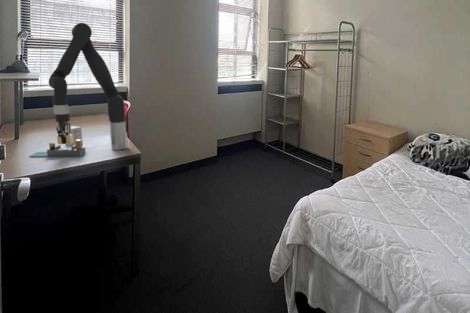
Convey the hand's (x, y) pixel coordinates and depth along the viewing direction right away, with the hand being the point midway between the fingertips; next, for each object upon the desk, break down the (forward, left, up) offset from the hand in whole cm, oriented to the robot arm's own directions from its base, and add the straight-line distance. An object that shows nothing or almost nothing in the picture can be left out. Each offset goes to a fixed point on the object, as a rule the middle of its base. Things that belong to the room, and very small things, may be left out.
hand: (65, 142), depth 191 cm
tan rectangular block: (0, 0, 0) cm, 0 cm away
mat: (+14, 0, -8) cm, 16 cm away
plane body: (0, 0, -8) cm, 8 cm away
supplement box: (+3, -19, -8) cm, 21 cm away
